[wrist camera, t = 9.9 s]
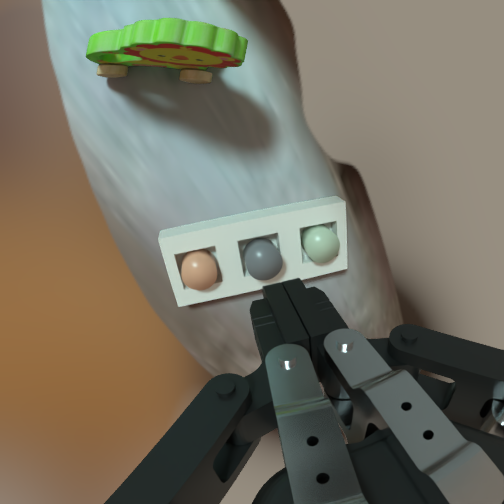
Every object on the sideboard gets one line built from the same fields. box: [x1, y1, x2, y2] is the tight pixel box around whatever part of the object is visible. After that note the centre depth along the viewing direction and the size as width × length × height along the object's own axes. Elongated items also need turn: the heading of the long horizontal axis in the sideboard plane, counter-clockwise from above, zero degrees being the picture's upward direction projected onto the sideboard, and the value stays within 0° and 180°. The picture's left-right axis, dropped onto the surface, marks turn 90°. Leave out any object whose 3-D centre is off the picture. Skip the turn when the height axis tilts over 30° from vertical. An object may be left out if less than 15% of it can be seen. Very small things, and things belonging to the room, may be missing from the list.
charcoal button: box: [243, 238, 283, 280], centre depth 40 cm, size 4×4×3 cm
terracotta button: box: [181, 248, 217, 290], centre depth 40 cm, size 4×4×3 cm
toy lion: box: [86, 18, 248, 84], centre depth 25 cm, size 16×5×15 cm, turn 80°
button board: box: [158, 196, 347, 307], centre depth 43 cm, size 10×24×3 cm, turn 99°
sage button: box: [300, 224, 340, 263], centre depth 42 cm, size 4×4×3 cm
